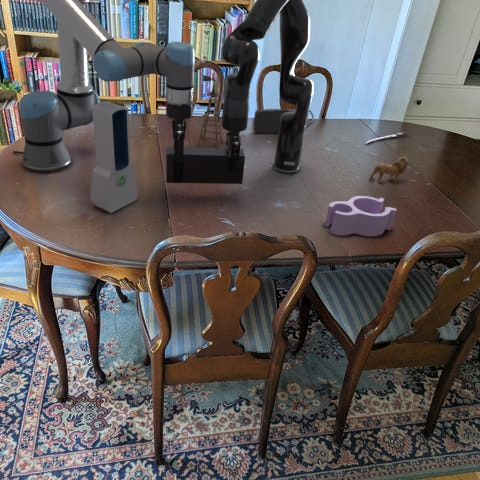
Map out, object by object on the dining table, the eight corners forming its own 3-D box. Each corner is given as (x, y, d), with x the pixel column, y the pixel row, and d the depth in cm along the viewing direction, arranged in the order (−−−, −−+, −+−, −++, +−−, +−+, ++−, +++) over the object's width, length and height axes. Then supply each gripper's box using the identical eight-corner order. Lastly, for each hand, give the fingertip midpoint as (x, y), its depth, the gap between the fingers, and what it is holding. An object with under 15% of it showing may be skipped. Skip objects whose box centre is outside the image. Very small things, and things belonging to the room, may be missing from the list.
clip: (337, 240, 135) (342, 219, 131) (318, 218, 145) (322, 198, 141) (395, 233, 141) (402, 213, 137) (373, 213, 151) (378, 194, 147)
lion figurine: (397, 176, 178) (404, 154, 173) (406, 182, 174) (413, 159, 169) (364, 178, 173) (370, 156, 168) (373, 185, 169) (379, 162, 164)
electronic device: (108, 214, 135) (101, 113, 119) (90, 206, 138) (81, 106, 122) (138, 199, 144) (135, 103, 128) (120, 191, 147) (115, 96, 131)
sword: (404, 132, 223) (404, 129, 222) (409, 134, 221) (409, 132, 220) (360, 143, 207) (361, 141, 206) (365, 146, 205) (366, 143, 204)
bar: (166, 182, 141) (166, 153, 136) (166, 175, 146) (166, 146, 141) (242, 184, 145) (245, 155, 140) (240, 176, 150) (242, 149, 145)
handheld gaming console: (299, 130, 212) (303, 108, 207) (302, 132, 210) (305, 110, 205) (252, 131, 205) (254, 109, 200) (254, 133, 203) (257, 111, 198)
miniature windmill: (217, 149, 184) (223, 71, 168) (196, 146, 185) (200, 68, 169) (222, 142, 191) (228, 66, 175) (203, 138, 192) (206, 63, 176)
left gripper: (194, 113, 124) (191, 191, 137) (191, 93, 139) (188, 165, 152) (166, 112, 123) (165, 190, 136) (165, 92, 138) (165, 164, 151)
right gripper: (252, 121, 130) (246, 176, 139) (244, 105, 142) (239, 156, 151) (225, 120, 129) (221, 175, 138) (220, 103, 140) (216, 156, 150)
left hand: (177, 176), depth 144 cm, fingers closed on bar, 5 cm apart
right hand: (231, 165), depth 144 cm, fingers closed on bar, 5 cm apart
